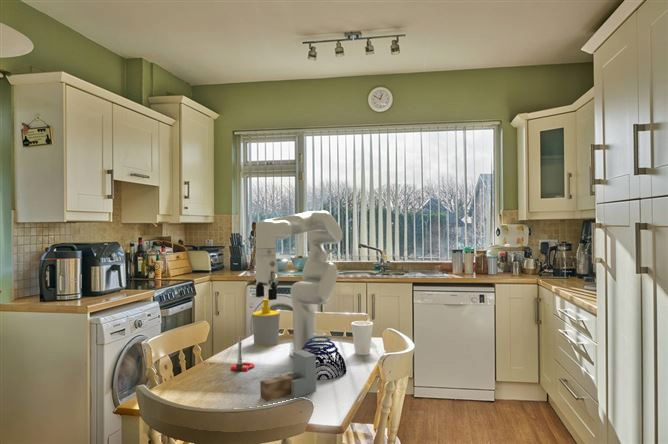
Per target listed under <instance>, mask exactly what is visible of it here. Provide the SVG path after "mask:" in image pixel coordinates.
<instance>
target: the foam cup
mask: <svg viewBox="0 0 668 444" xmlns="http://www.w3.org/2000/svg"><path fill="white" fill-rule="evenodd" d="M350 328H351V333H352V339H353V346H354V347H353V348H354V354H355V355H359V356H366V355H367V356H368V355H369V354H370V350H371V346H372V345H371V344H372V336H373V335H372V334H373V329H374V323H373V322H372V321H367V320H357V321H356V320H355V321H352V322H351V325H350Z"/></svg>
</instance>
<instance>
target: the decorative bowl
mask: <svg viewBox="0 0 668 444" xmlns="http://www.w3.org/2000/svg"><path fill="white" fill-rule="evenodd" d="M313 335H314V336H315V337H312V338H310V339H309V340H308V341H309V342H307V343H306V344H305V345H304V347H302V350H304V348H306V349H311V350H309V351H307V352H309V353H312V354H315V355H316V376H317V375H318V376H317V377H316V381H321V378H323V377H325V378H326V379H322V381H327V380H328V381H329V380H333V379H337V378H341V377H343V376H345V375H346V373H347V364H346V362H345V359H344V357H343V355H342V354H341V353H340V352H339V348H338V347H337V346H336V344H335V342H333V341H331V340H332V339H331V338H330V337H326V336H327V334H326V332H315V333H314V334H313ZM314 338H315V339H321V340H315V341H314V340H312V339H314ZM323 339H326V340H323ZM309 343H324V344H312V345H307V344H309ZM312 346H324V347H322V348H320V347H312ZM333 348H334V349H333ZM330 349H333V350H331V351H329V350H330ZM304 351H305V350H304ZM311 351H312V352H311ZM315 352H316V353H315ZM318 352H319V353H318ZM333 354H335V355H333ZM321 367H326V368H323V369H320V370H317V369H319V368H321ZM327 368H328V369H330V370H328V369H327ZM321 372H323V373H321ZM324 372H325V373H324Z"/></svg>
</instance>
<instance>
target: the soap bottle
mask: <svg viewBox="0 0 668 444" xmlns="http://www.w3.org/2000/svg"><path fill="white" fill-rule="evenodd" d="M261 301H262V302H263V305H262V306H261V310H258V311H257V310H256V311H254V312H252V314H251V316H252V317H251V318H252V329H253V330H252V331H253V332H252V333H253V334H252V335H253V344H254V346H255V347H260V348H261V347H262V348H264V347H265V348H266V347H269V348H270V347H274V346H277V345H278V344H279V341H280V340H279V337H280V317H281V311H278V310H272V309H271V306H270V305H269V302H270V300H269V299H268V298H262V299H261Z"/></svg>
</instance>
